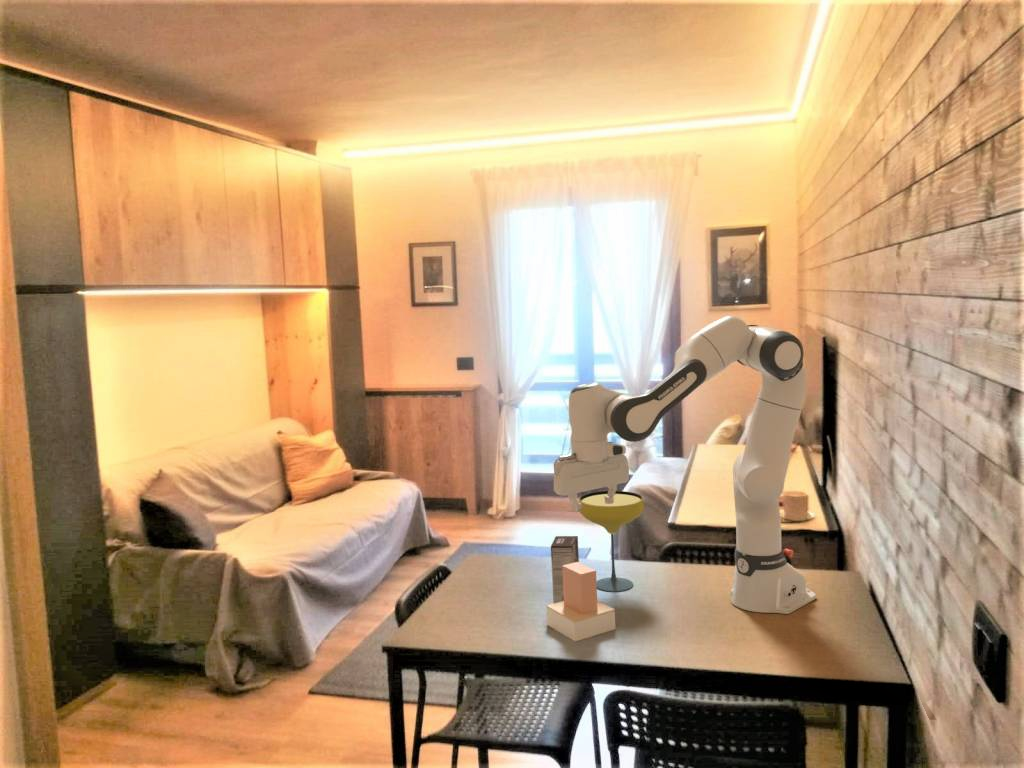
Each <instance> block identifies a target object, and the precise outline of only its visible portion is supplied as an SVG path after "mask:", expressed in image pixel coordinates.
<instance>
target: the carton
mask: <svg viewBox="0 0 1024 768" xmlns="http://www.w3.org/2000/svg"><path fill="white" fill-rule="evenodd" d="M562 572H563V596H564V605H566V606H568V607H569V608H571V609H573V610H575V611H577V612H578V613H580V614H582V615H583V614H587V613H590V612H594V611H597V610H598V609H597V601H598V588H597V582H596V581H597V570H596V569H594V568H592V567H590V566H587V565H584V564H582V563H581V562H580V561H579V562H575V563H571V564H567V565H562Z"/></svg>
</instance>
